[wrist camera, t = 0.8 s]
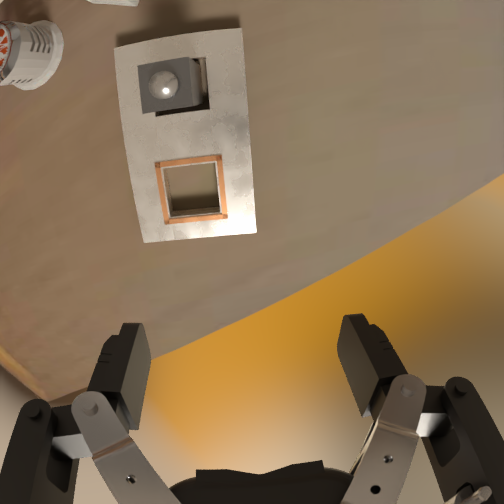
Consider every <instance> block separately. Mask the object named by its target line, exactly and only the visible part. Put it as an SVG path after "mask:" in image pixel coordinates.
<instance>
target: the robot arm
mask: <svg viewBox="0 0 504 504" xmlns="http://www.w3.org/2000/svg"><path fill="white" fill-rule="evenodd" d="M337 351H338V357H339V359H340V362H341V364H342V367H343V369H344V372H345V374H346V377H347V379H348V382H349V385H350V387H351V390H352V392H353V395H354V397H355V400H356V403H357V405H358V408H359V411H360V413H361V416H362V417H367V416H372V418H373V420H374V421H373V423H372V425H371V427H370V430H369V432H368V434H367V436H366V439H365V441H364V443H363V446H362V448H361V450H360V452H359V454H358V456H357V458H356V460H355V462H354V464H353V466H352V468H351V469H350V471H349V473H347V472H344V471H341V470H337V469H333V468H326V467H324V466H323V462H322V460H320V461H313V462H307V463H300V464H292V465H289V466H286V467H284V468H281V469H277V470H275V471H271V472H268V473H265V474H252V473H245V472H240V471H234V470H227V469H221V470H196V477H193V478H189V479H186V480H183V481H181V482H179V483H177V484H175V485H173V486H172V487H170V488H168V487H167V486H166V485H165V483H164V482H163V481H162V479H161V478H160V477H159V475H158V474H157V473H156V471H155V470H154V469H153V467H152V466H151V465H150V463H149V462H148V461H147V459H146V458H145V456H144V455H143V454H142V452H141V451H140V449H139V448H138V447H137V445H136V444H135V442H134V441H133V439H132V438H130V436H129V435H128V434H129V429H130V430H138V429H139V423H140V417H141V411H142V406H143V400H144V395H145V390H146V385H147V380H148V375H149V370H150V364H151V355H150V349H149V346H148V342H147V338H146V334H145V330H144V326H143V324H142V323H123V325H122V327H121V330H120V333H119V335H112V336H111V337H110V338H109V339H108V340H107V341H106V342H105V343H104V345H103V348H102V350H101V353H100V354H101V355H99V358H98V363H97V364H96V366H95V369H94V372H93V375H92V377H91V380H90V383H89V386H88V389H87V392H85V393H82V394H80V395H79V396H77V397H76V398H75V400H74V401H73V403H72V404H71V405H67V406H60V407H54V408H51V407H50V405H49V404H48V403H47V402H46V401H45V400H42V399H33V400H30V401H28V402H27V403H25V404H24V405H23V407H22V408H21V410H20V413H19V415H18V418H17V421H16V424H15V427H14V430H13V433H12V436H11V439H10V442H9V446H8V448H7V452H6V455H5V458H4V462H3V466H2V469H1V473H0V504H73V499H74V491H75V484H76V477H77V471H78V465H79V459H80V458H84V457H91V456H92V459H93V461H94V463H95V465H96V467H97V469H98V471H99V472H100V474H101V476H102V478H103V479H104V481H105V483H106V484H107V486H108V488H109V489H110V491H111V493H112V494H113V496H114V497H115V499H116V500H117V502H118V504H396V503H397V500H398V498H399V495H400V492H401V490H402V487H403V485H404V482H405V479H406V476H407V473H408V471H409V468H410V465H411V462H412V458H413V455H414V452H415V449H416V445H417V442H418V438H419V437H421V439H422V441H423V443H424V446H425V449H426V451H427V454H428V457H429V459H430V462H431V465H432V468H433V470H434V473H435V476H436V479H437V482H438V484H439V488H440V490H441V493H442V496H443V499H444V502H445V503H444V504H504V440H503V438H502V436H501V434H500V433H499V431H498V429H497V427H496V425H495V423H494V421H493V419H492V417H491V416H490V414H489V412H488V410H487V409H486V406H485V405H484V403H483V401H482V399H481V398H480V396H479V394H478V392H477V391H476V389H475V387H474V386H473V384H472V383H471V382H470V381H469V380H467V379H465V378H462V377H453V378H451V379H449V380H448V381H447V382H446V384H445V386H427V385H425V384H424V382H423V381H422V380H421V379H419V378H418V377H416V376H414V375H410V374H408V373H407V371H406V369H405V367H404V366H403V364H402V362H401V360H400V359H399V357H398V355H397V353H396V352H395V350H394V349H393V347H392V345H391V343H390V342H389V340H388V338H387V336H386V335H385V333H384V331H382V330H381V329H380V328H379V327H377V326H376V325H375V324H372V325H369V323H368V321H367V319H366V318H365V316H364V315H363V314H362V313H361V314H350V315H345V316H344V317H343V320H342V325H341V330H340V334H339V339H338V343H337Z"/></svg>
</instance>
